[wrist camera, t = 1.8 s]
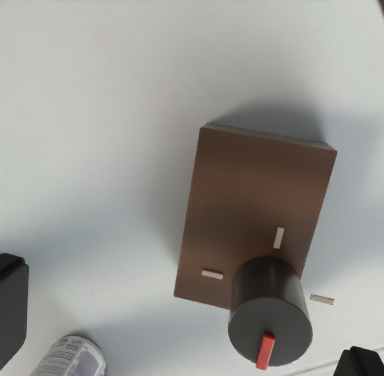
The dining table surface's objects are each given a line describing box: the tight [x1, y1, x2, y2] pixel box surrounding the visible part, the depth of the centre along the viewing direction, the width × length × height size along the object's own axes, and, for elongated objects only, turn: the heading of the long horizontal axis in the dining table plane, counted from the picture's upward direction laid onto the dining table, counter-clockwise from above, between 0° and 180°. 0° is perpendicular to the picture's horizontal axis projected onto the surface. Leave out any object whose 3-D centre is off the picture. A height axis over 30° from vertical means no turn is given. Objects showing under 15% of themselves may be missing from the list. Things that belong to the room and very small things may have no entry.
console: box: [174, 123, 337, 310], centre depth 23 cm, size 14×10×3 cm
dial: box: [228, 257, 313, 370], centre depth 20 cm, size 4×4×5 cm
